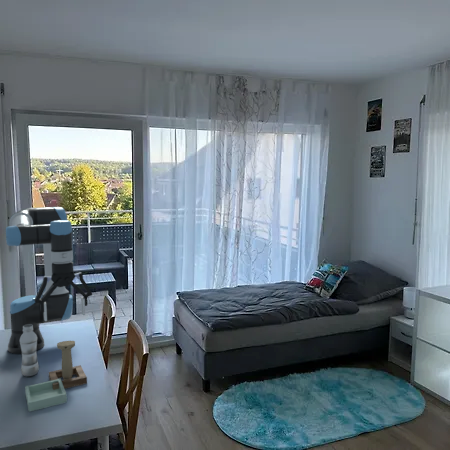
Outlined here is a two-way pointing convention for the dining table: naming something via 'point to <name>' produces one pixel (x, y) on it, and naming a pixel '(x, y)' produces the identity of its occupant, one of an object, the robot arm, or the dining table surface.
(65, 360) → the handle
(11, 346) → the robot arm
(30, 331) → the plastic bottle
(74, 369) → the brown wooden frame
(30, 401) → the tray
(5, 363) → the dining table surface
